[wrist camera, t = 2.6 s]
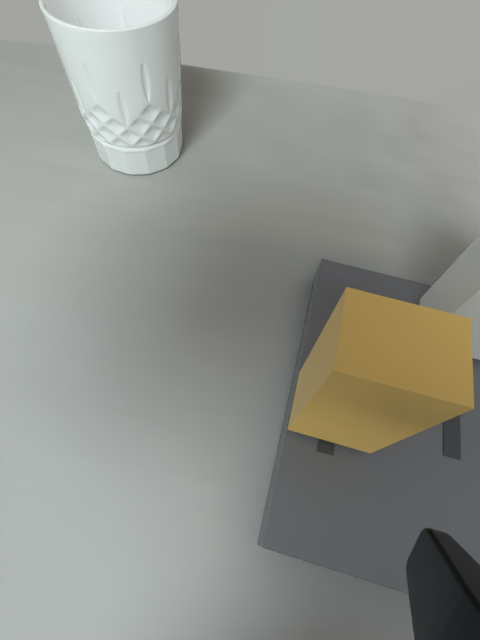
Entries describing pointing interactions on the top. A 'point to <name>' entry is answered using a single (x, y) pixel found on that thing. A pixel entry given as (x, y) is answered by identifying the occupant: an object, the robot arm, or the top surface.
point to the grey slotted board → (371, 470)
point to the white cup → (123, 76)
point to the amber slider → (383, 373)
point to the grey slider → (460, 291)
